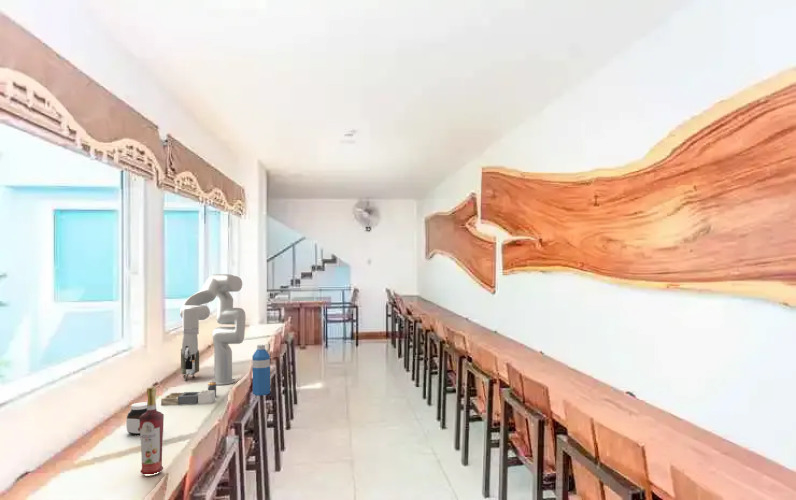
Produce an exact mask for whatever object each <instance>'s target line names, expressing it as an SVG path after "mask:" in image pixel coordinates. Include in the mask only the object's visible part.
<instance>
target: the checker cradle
mask: <svg viewBox="0 0 796 500" xmlns="http://www.w3.org/2000/svg"><path fill="white" fill-rule="evenodd" d="M199 392H200V391H189V392H188V391H184V392H181V393H182V394H181V395H179V396H178V406H179V405H198V393H199ZM187 395H193V396H187Z"/></svg>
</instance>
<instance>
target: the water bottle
mask: <svg viewBox="0 0 796 500" xmlns="http://www.w3.org/2000/svg"><path fill="white" fill-rule="evenodd" d="M253 394H255V395H254V396H267V395H270V394H271V356H270V353H269V352H268V351H267V350H266V345H265V344H257V345H256V349H255V351H254V352H253V354H252V395H253Z"/></svg>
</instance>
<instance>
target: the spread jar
mask: <svg viewBox="0 0 796 500" xmlns="http://www.w3.org/2000/svg"><path fill="white" fill-rule="evenodd" d="M147 402H148V401H145V402H144V401H141V402H136V403H133V404H131V405H130V410H129V412H128V413H127V415H126V419H125V420H126V424H125V425H126V431H127V433H128V434H129V435H131V436H133V437H134V436H135V435H136V436H137V435H139V436H140V420H139V417H140V416H141V415H142V414H144V413H146V412H147ZM137 437H138V436H137Z"/></svg>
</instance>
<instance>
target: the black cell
mask: <svg viewBox="0 0 796 500" xmlns="http://www.w3.org/2000/svg"><path fill="white" fill-rule="evenodd" d="M207 390H215V398H216V397H217V385H216V382H212V381H211V382H207Z"/></svg>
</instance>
